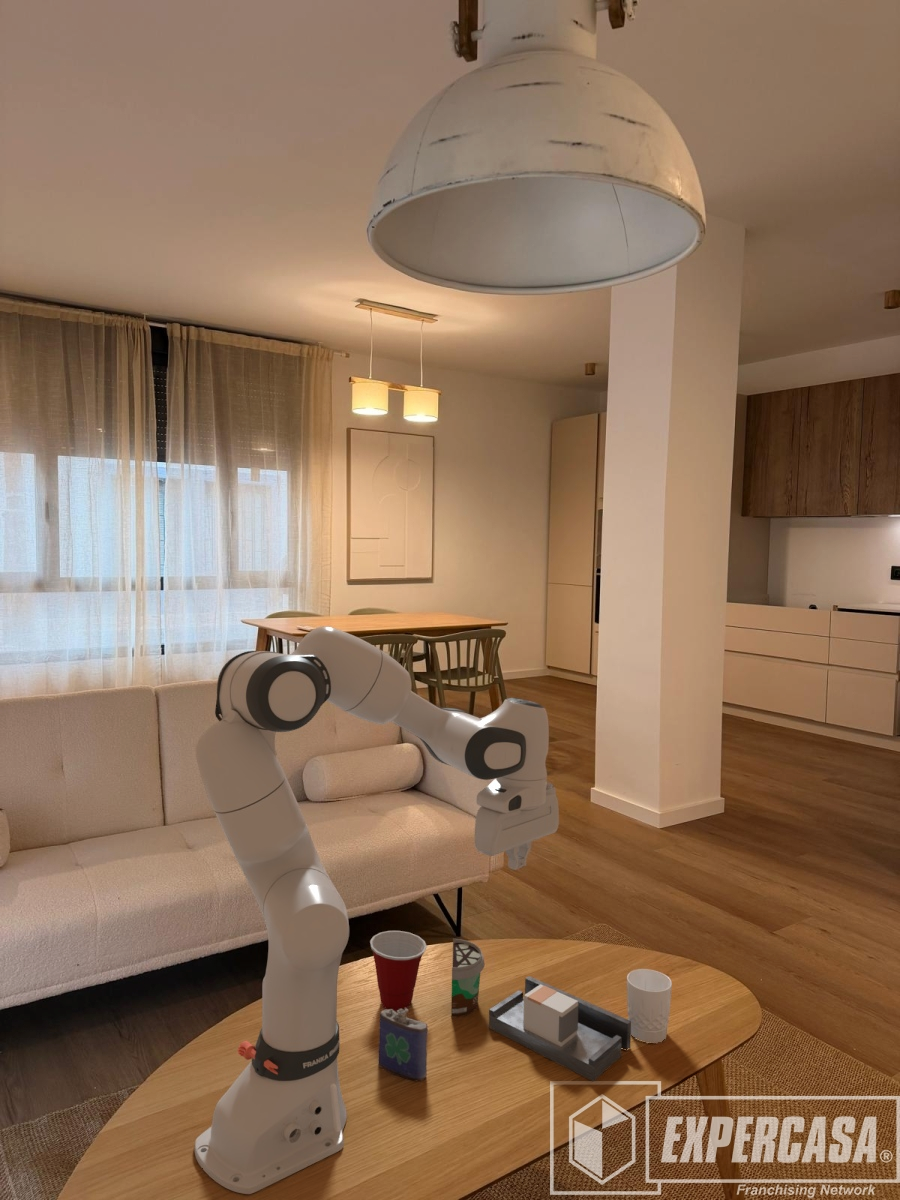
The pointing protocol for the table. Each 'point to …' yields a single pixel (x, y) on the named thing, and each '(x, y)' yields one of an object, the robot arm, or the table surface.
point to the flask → (403, 1045)
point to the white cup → (648, 1004)
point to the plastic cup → (397, 966)
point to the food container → (465, 977)
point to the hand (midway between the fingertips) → (517, 867)
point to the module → (550, 1015)
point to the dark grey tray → (580, 1054)
